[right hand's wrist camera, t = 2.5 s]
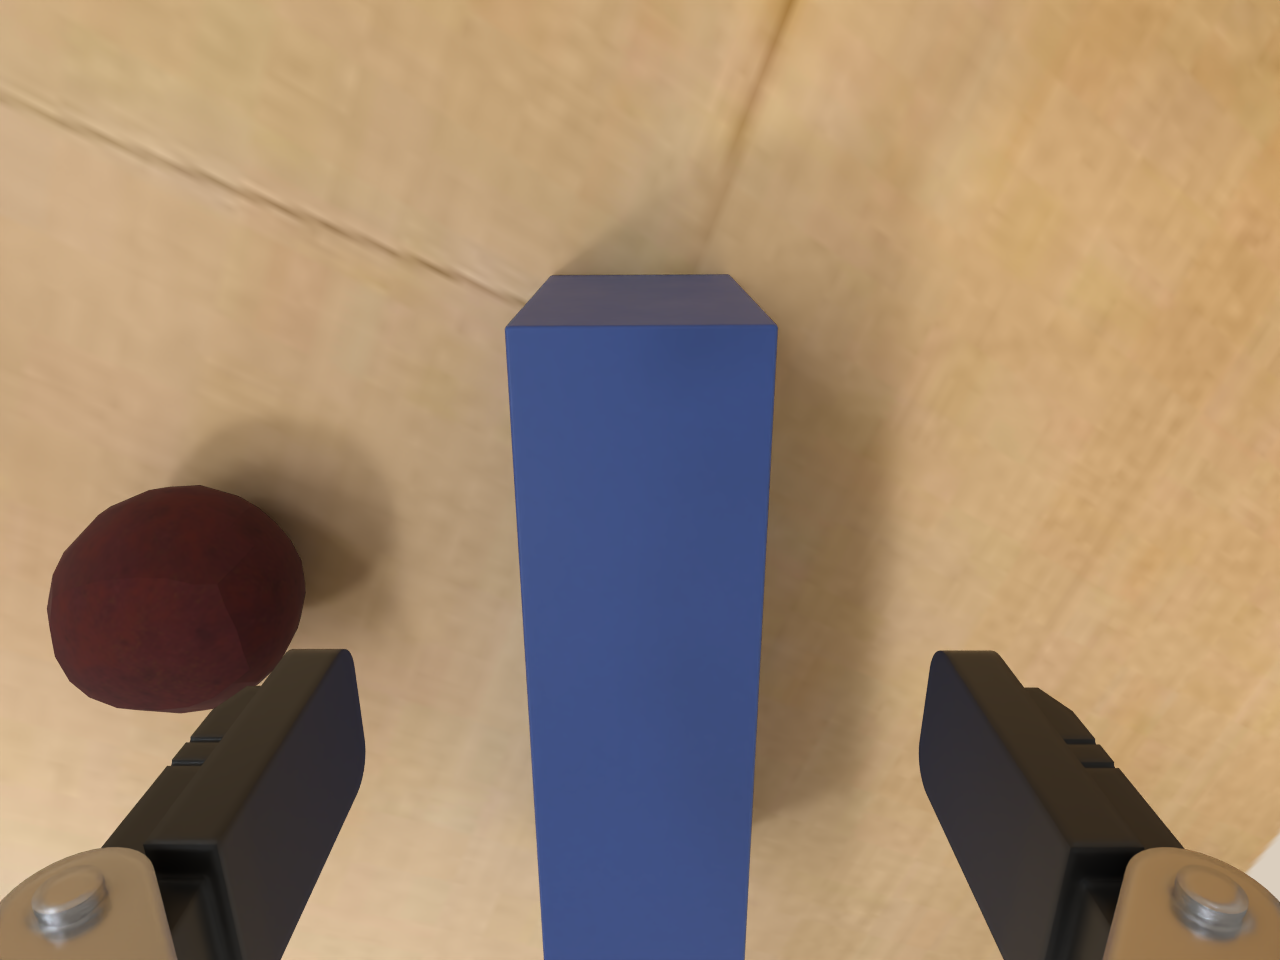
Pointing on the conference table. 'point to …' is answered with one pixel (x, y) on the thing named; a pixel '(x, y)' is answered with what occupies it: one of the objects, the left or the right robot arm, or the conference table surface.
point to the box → (642, 603)
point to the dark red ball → (175, 600)
